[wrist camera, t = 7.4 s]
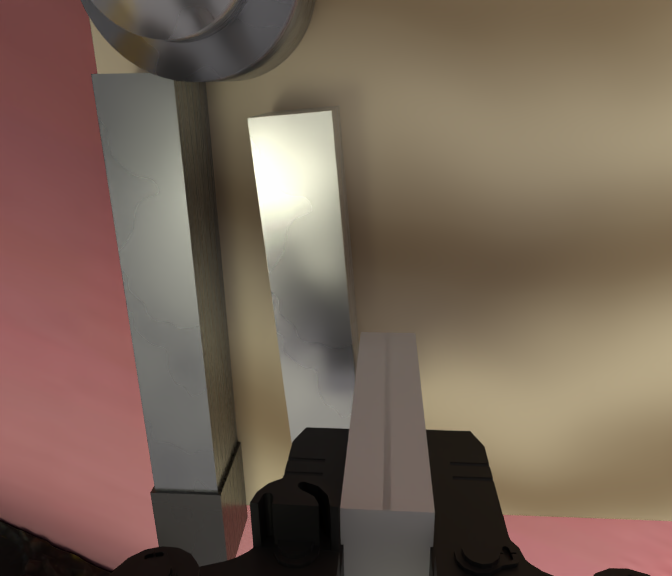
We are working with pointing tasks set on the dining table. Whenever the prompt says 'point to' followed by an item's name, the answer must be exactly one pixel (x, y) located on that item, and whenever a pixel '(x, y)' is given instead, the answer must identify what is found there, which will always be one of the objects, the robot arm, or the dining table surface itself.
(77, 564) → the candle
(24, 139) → the dining table surface
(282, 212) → the bar
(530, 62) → the board
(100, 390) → the dining table surface
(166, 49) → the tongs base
